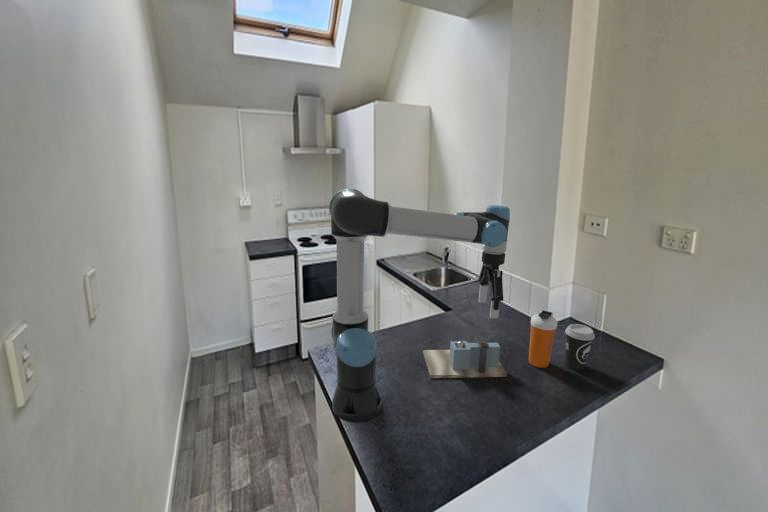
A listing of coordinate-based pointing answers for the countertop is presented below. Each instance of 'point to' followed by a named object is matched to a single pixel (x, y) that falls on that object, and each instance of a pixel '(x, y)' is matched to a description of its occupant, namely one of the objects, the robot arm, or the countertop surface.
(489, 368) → the board
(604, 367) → the countertop surface
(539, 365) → the shaker bottle
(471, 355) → the link
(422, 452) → the countertop surface
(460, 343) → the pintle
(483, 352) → the post
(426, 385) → the countertop surface
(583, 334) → the coffee cup
